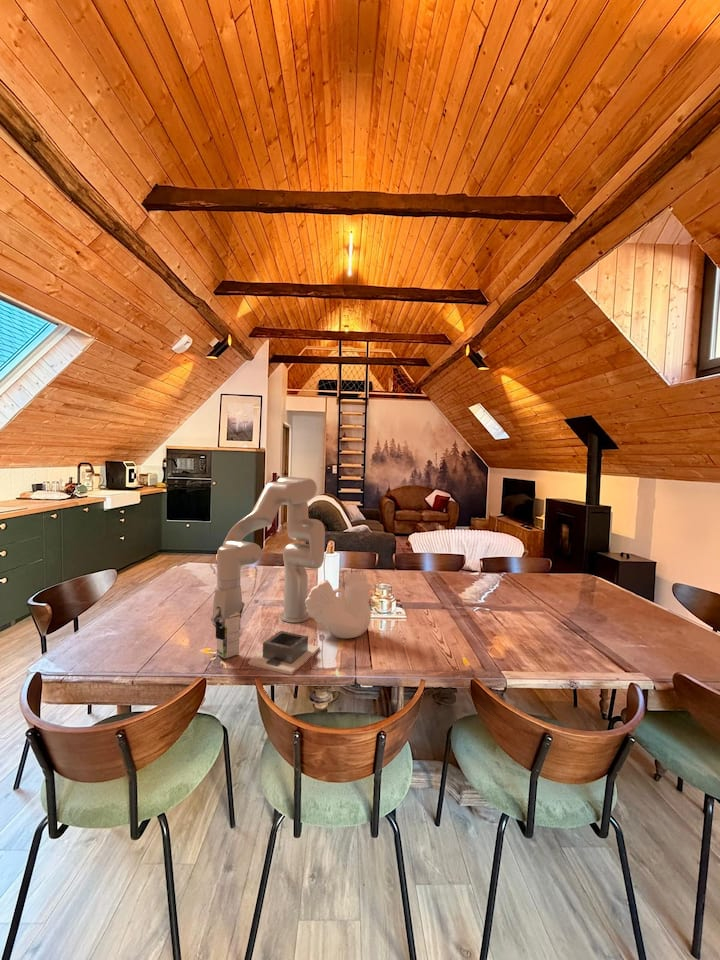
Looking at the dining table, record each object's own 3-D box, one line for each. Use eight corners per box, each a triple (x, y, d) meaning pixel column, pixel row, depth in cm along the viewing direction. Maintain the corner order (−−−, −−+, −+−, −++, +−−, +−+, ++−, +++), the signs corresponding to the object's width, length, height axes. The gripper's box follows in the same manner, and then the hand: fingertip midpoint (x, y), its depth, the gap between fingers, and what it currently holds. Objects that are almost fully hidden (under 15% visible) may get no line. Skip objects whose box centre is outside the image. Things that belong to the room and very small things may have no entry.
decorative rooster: (372, 628, 177) (374, 567, 175) (367, 645, 161) (369, 578, 160) (312, 622, 180) (314, 563, 179) (301, 638, 165) (303, 573, 163)
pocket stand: (280, 641, 161) (281, 625, 161) (319, 649, 156) (320, 633, 155) (248, 664, 143) (248, 646, 142) (291, 675, 137) (291, 656, 137)
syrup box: (215, 653, 149) (216, 611, 148) (231, 648, 153) (232, 607, 152) (223, 659, 145) (224, 616, 144) (240, 653, 149) (240, 612, 148)
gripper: (235, 574, 156) (235, 623, 158) (201, 588, 140) (201, 642, 141) (253, 577, 154) (252, 626, 155) (220, 591, 138) (220, 646, 139)
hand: (228, 633), depth 148 cm, fingers closed on syrup box, 7 cm apart
